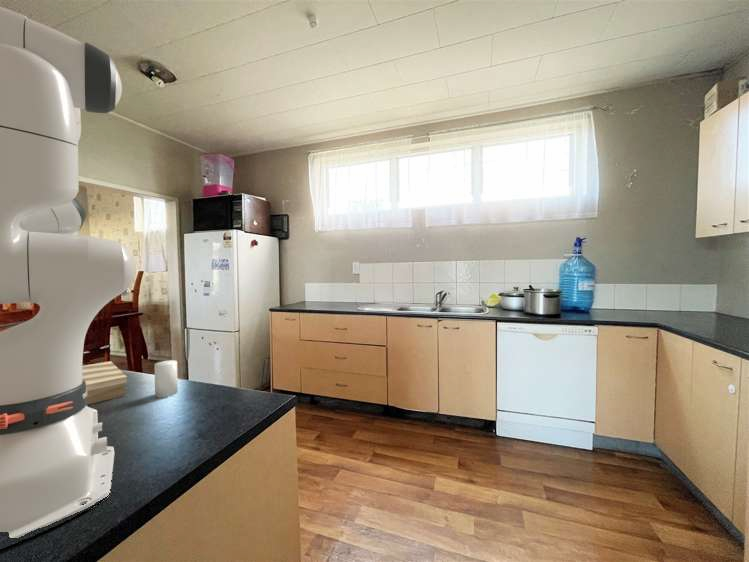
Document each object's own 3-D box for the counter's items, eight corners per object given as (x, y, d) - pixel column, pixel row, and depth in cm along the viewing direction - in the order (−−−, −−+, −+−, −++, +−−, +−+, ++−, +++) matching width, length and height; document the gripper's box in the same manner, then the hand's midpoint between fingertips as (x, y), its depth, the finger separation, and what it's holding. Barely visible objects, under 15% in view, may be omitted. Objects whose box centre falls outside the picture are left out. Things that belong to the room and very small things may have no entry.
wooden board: (127, 395, 81) (127, 376, 81) (50, 413, 70) (50, 392, 70) (111, 376, 95) (110, 361, 95) (45, 390, 84) (44, 372, 84)
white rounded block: (180, 393, 82) (179, 362, 82) (158, 399, 78) (157, 367, 78) (174, 389, 85) (173, 359, 85) (152, 394, 81) (152, 363, 81)
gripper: (41, 246, 68) (87, 291, 69) (114, 250, 89) (149, 285, 90) (20, 265, 68) (67, 310, 69) (98, 265, 89) (133, 299, 90)
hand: (114, 296), depth 80 cm, fingers open, 8 cm apart
